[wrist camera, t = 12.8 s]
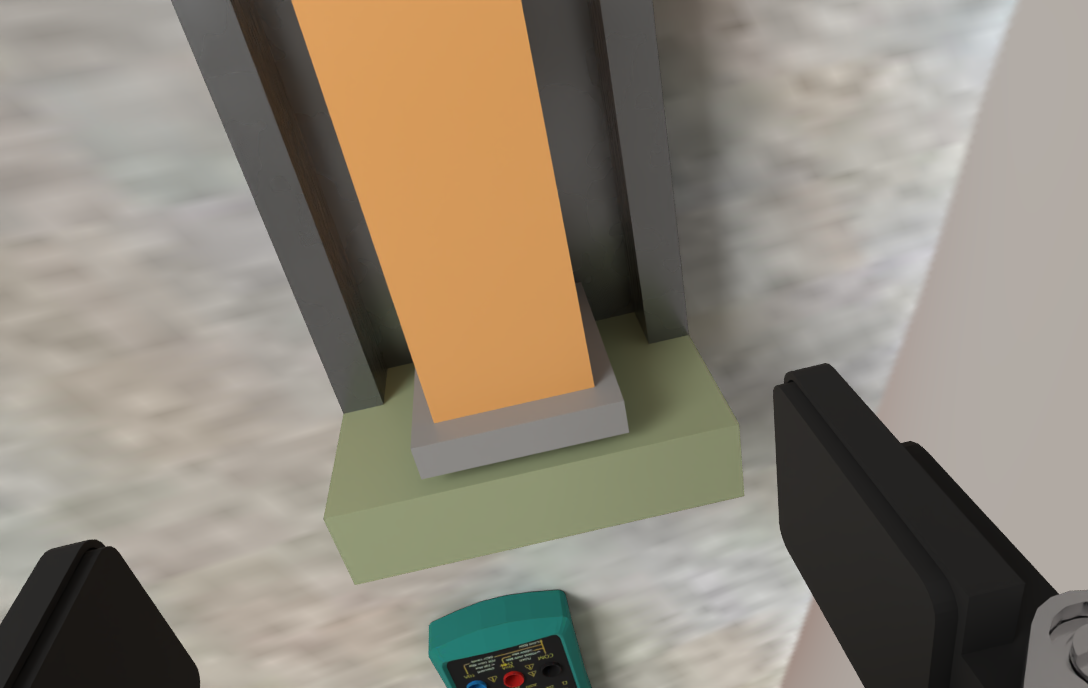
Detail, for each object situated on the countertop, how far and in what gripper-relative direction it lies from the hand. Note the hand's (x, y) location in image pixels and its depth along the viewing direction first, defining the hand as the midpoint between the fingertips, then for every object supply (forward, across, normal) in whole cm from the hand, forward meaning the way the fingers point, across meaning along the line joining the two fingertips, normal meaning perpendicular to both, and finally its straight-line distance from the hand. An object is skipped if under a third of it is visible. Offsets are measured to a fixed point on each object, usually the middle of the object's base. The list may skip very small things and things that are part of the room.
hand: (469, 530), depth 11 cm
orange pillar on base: (+18, -1, 0) cm, 18 cm away
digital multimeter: (+20, +3, +30) cm, 36 cm away
